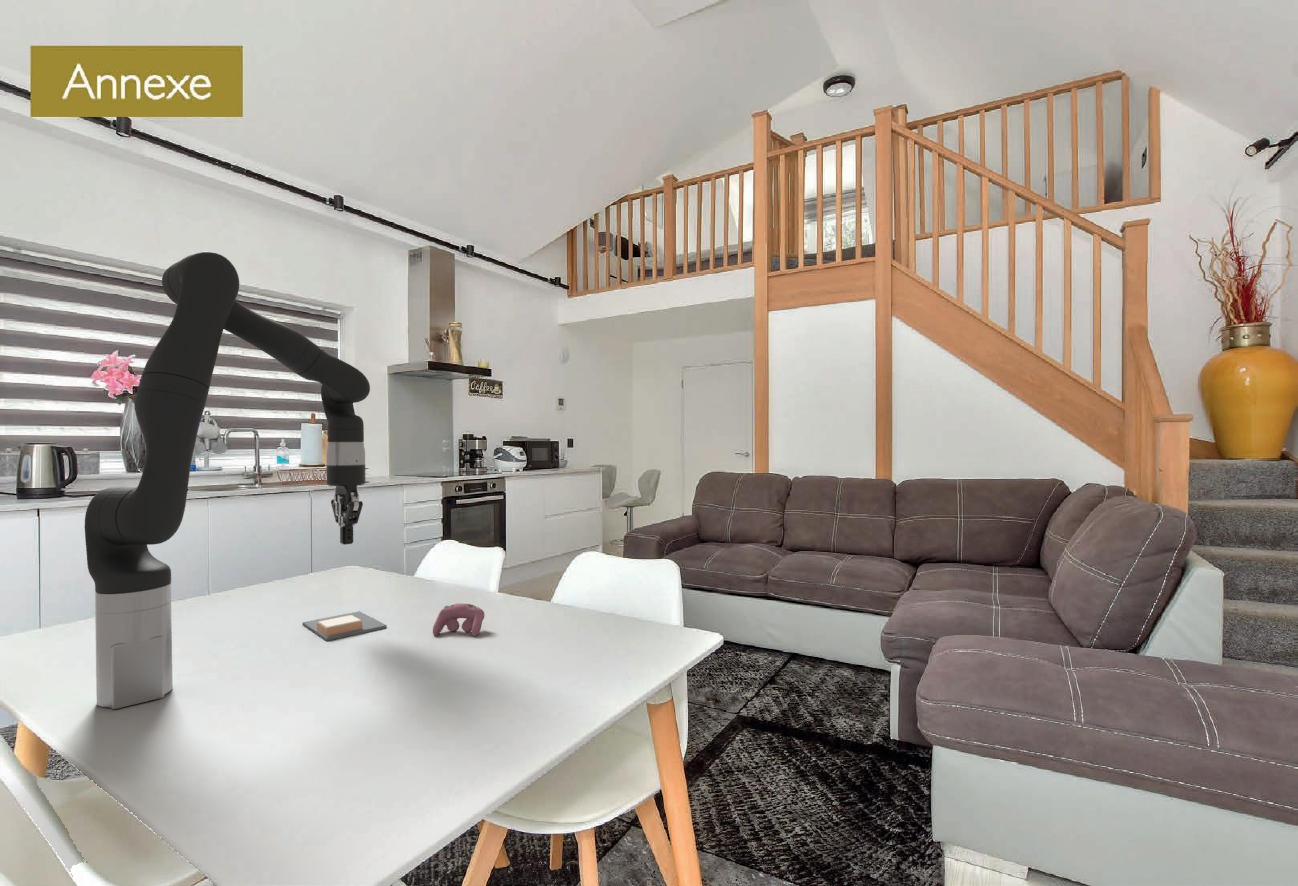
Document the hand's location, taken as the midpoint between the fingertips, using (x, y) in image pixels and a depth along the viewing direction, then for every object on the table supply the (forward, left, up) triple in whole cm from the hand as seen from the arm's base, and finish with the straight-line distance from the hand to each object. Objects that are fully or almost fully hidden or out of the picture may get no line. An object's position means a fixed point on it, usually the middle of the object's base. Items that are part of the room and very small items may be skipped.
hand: (346, 543), depth 131 cm
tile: (-2, -1, -17) cm, 17 cm away
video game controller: (-20, -15, -19) cm, 31 cm away
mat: (+2, 0, -18) cm, 18 cm away
